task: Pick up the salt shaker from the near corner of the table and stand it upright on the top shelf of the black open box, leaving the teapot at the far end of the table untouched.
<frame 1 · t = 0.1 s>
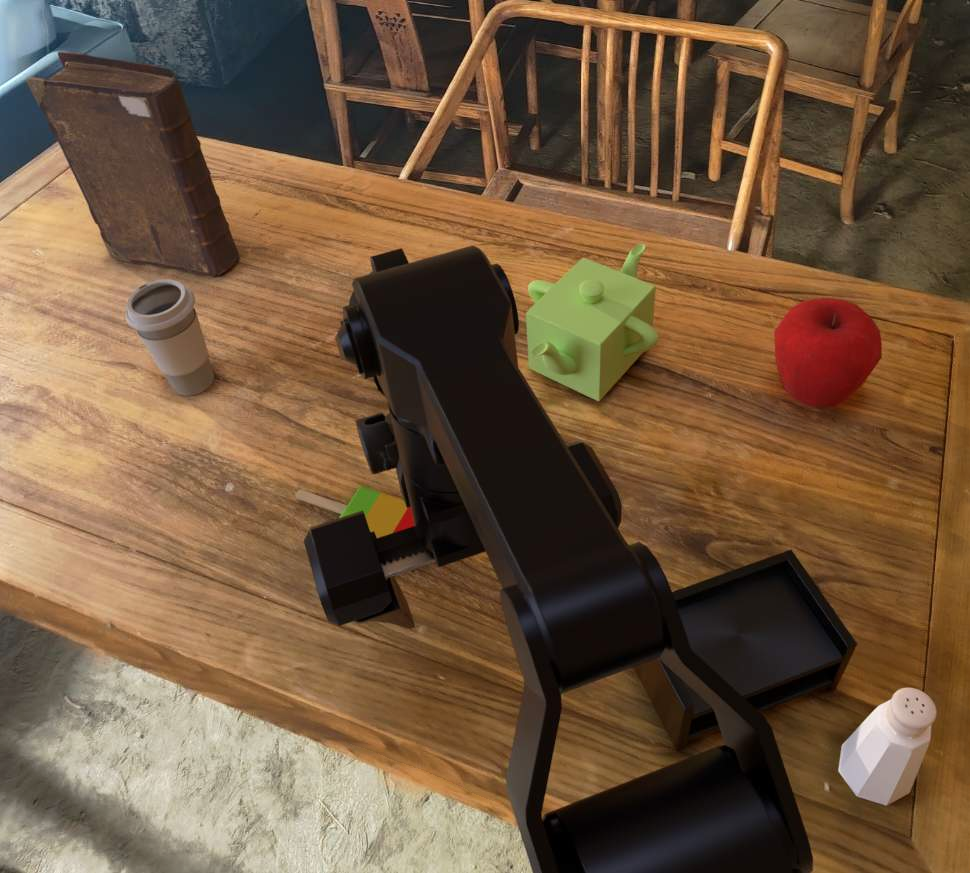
hand: (475, 599, 63), 16 cm above the table, tool pointing down, fingers open, 9 cm apart
salt shaker: (873, 770, 69), on the table
cup: (193, 382, 102), on the table
apple: (813, 393, 95), on the table
book: (177, 260, 117), on the table
popsicle: (365, 523, 88), on the table
black open box: (728, 670, 75), on the table
teapot: (590, 364, 100), on the table
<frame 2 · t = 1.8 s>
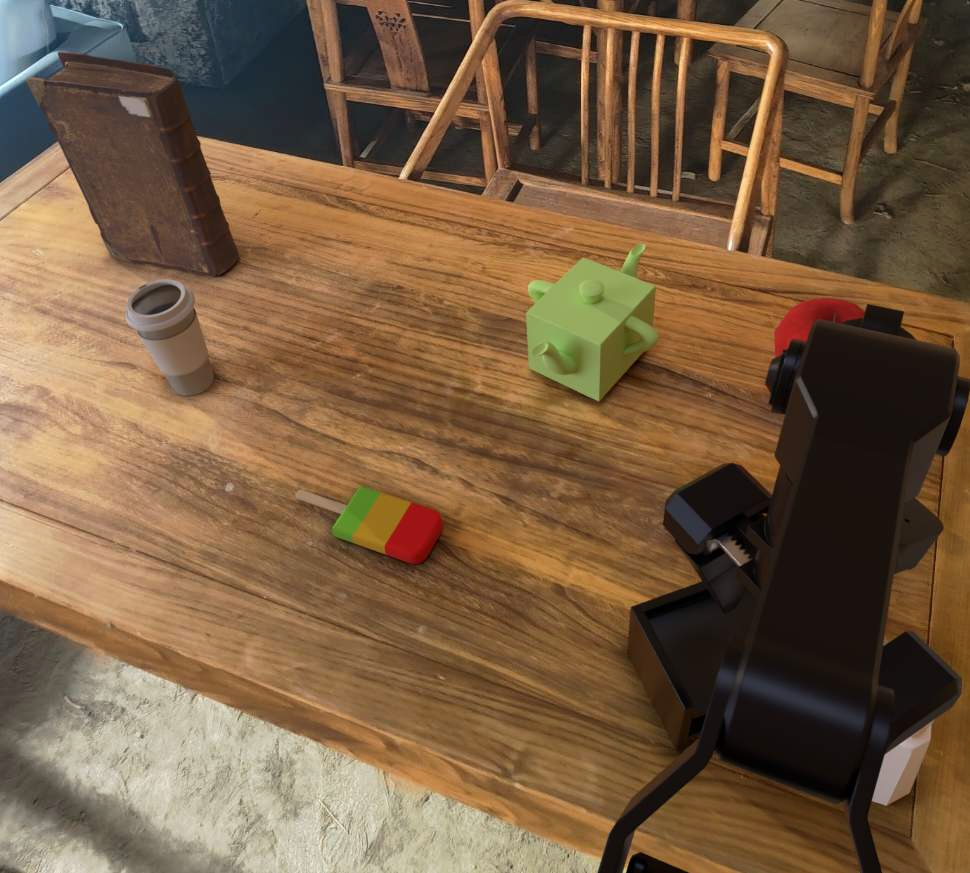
hand: (775, 660, 61), 14 cm above the table, tool pointing down, fingers open, 9 cm apart
nothing on the table moved.
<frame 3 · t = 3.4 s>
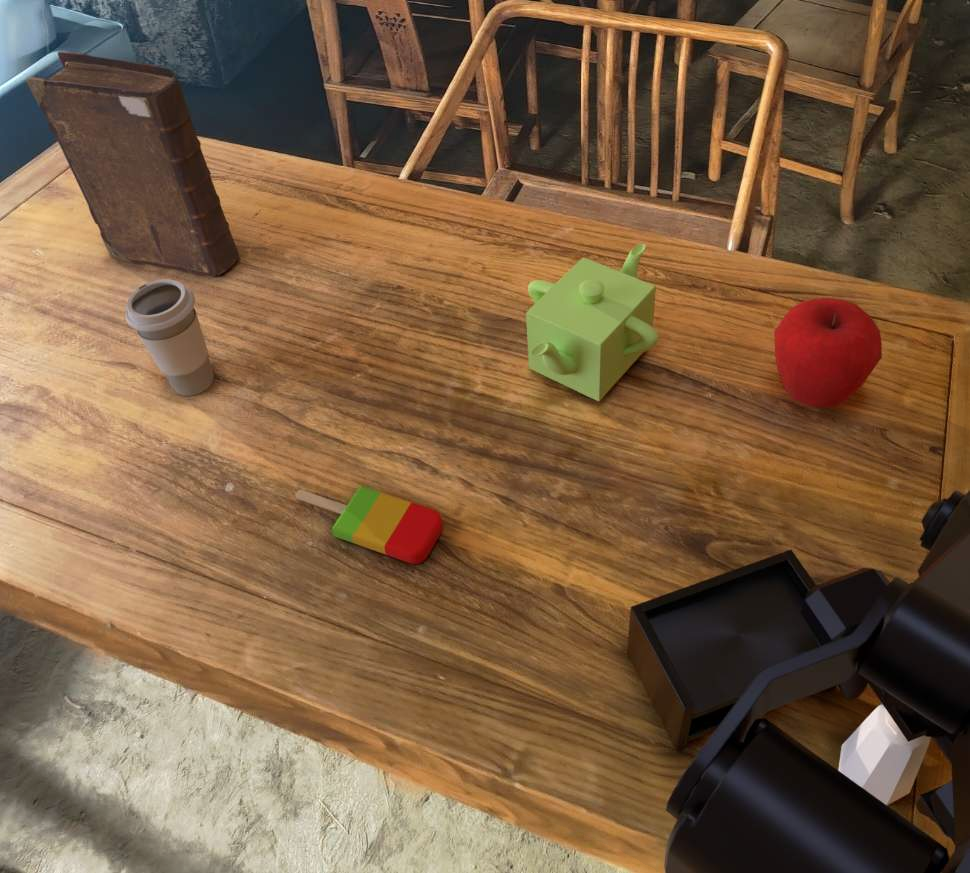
hand: (886, 750, 67), 4 cm above the table, tool pointing down, fingers open, 8 cm apart
nothing on the table moved.
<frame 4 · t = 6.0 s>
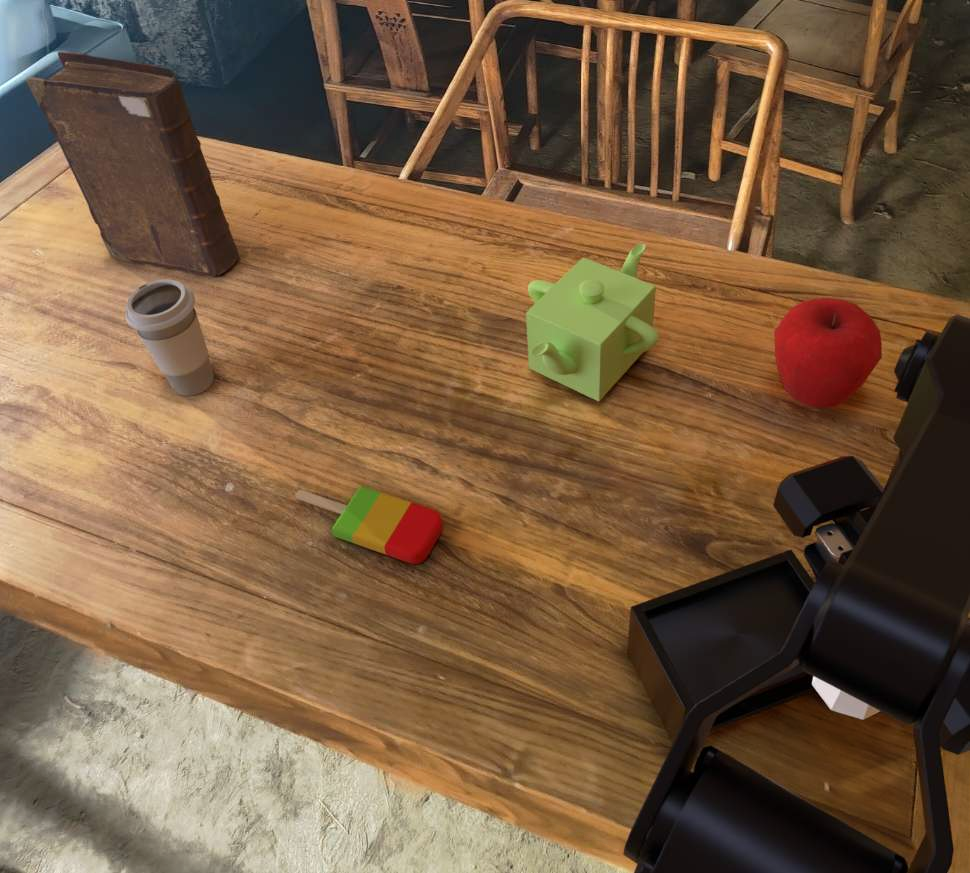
hand: (865, 656, 61), 13 cm above the table, tool pointing down, fingers closed on salt shaker, 4 cm apart
salt shaker: (850, 685, 64), point 9 cm above the table, touching gripper
everything else where it was.
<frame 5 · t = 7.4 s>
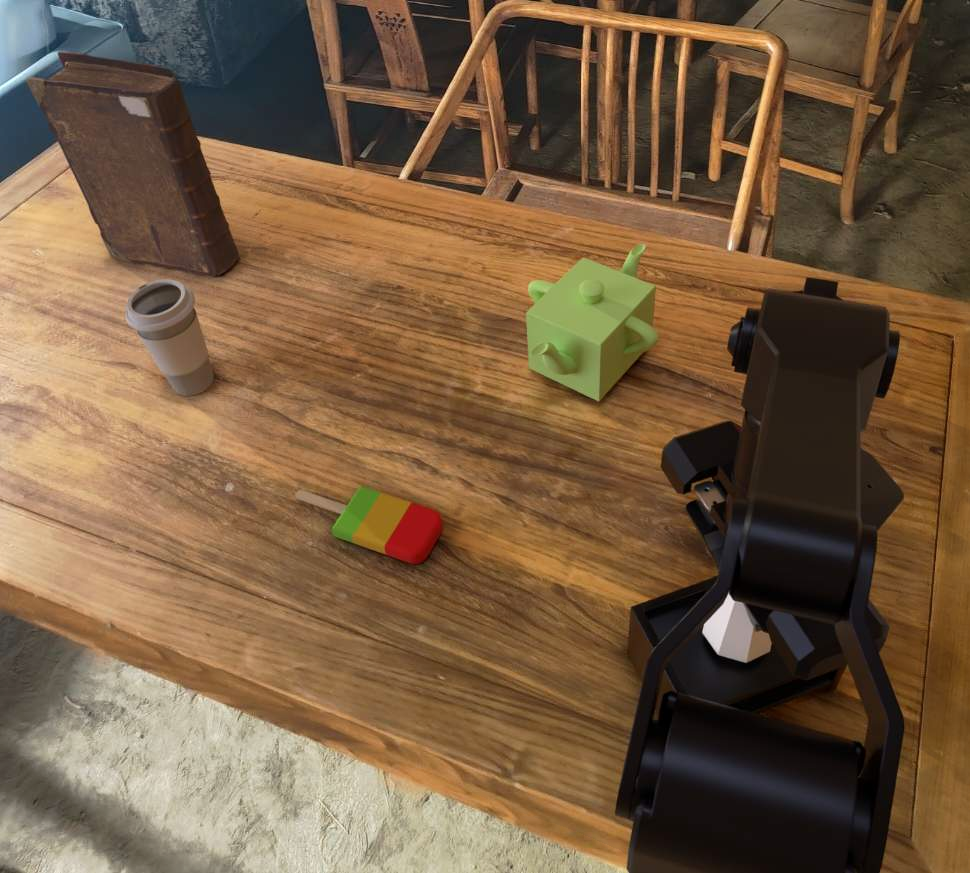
hand: (746, 604, 67), 11 cm above the table, tool pointing down, fingers closed on salt shaker, 4 cm apart
salt shaker: (737, 632, 70), point 7 cm above the table, touching gripper
everything else where it was.
when the fingers open (10 cm above the table, at t = 8.1 s): salt shaker stays where it is, resting on black open box.
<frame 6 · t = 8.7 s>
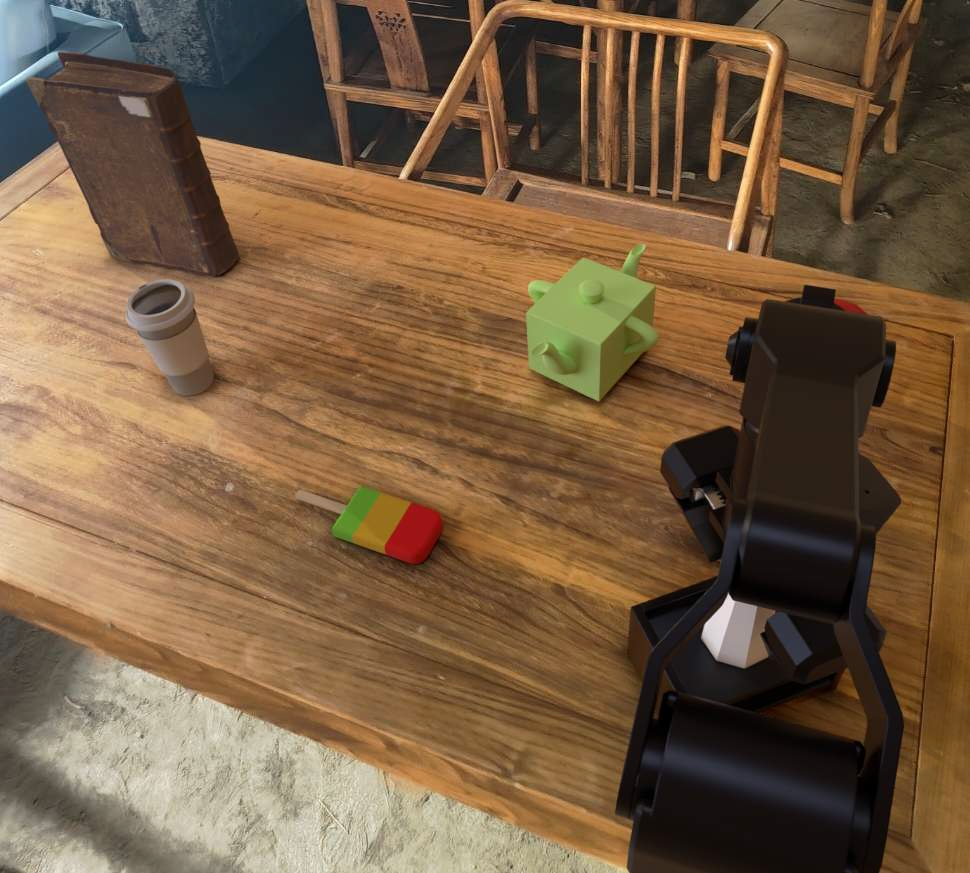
hand: (745, 607, 68), 10 cm above the table, tool pointing down, fingers open, 9 cm apart
salt shaker: (736, 638, 71), point 6 cm above the table, touching black open box
everything else where it was.
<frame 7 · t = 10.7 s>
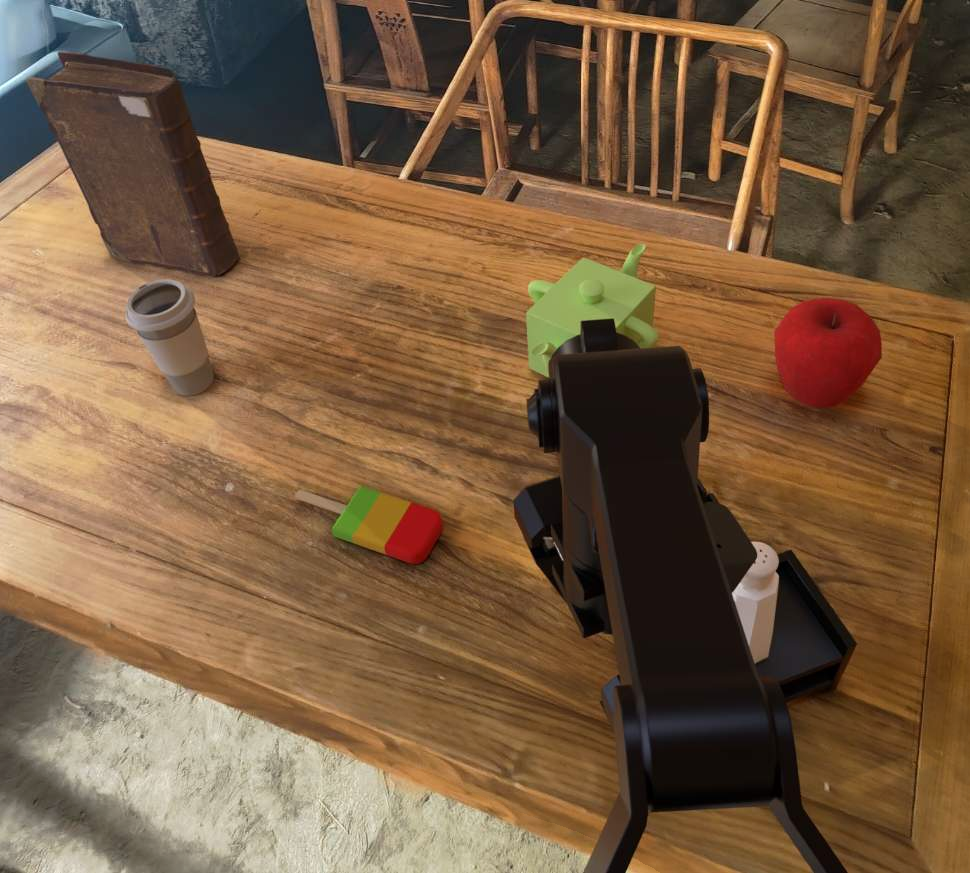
hand: (607, 664, 63), 13 cm above the table, tool pointing down, fingers open, 9 cm apart
nothing on the table moved.
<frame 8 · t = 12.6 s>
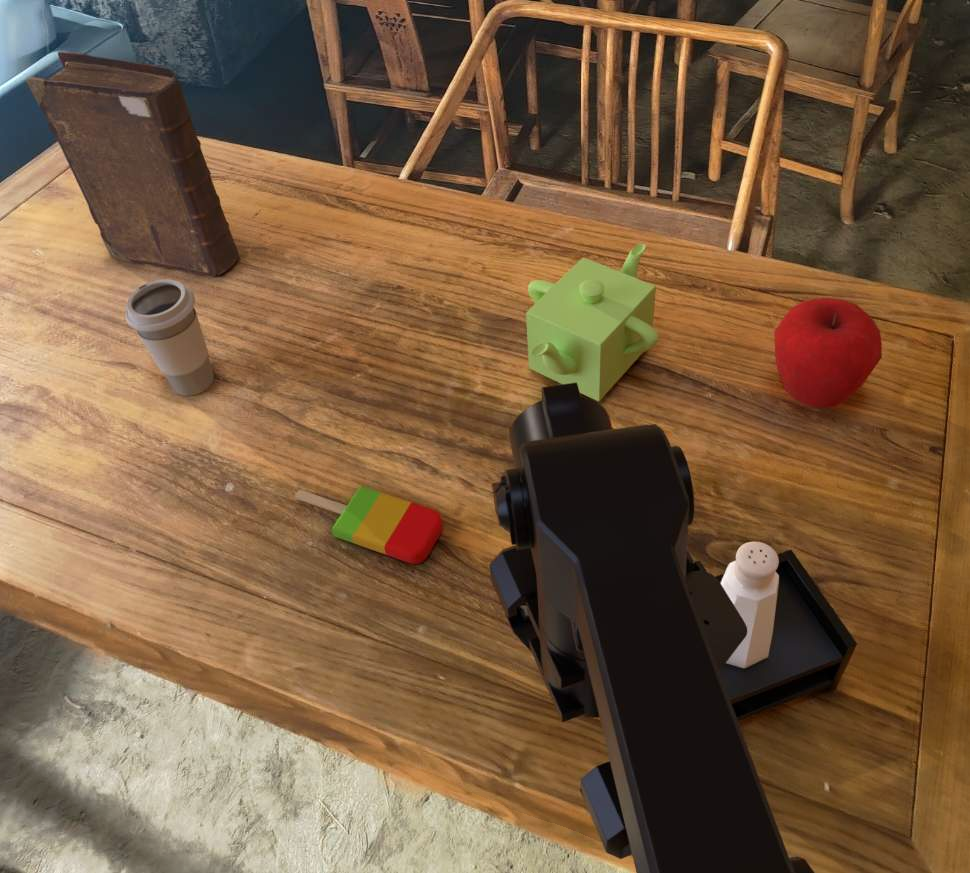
hand: (590, 736, 59), 13 cm above the table, tool pointing down, fingers open, 9 cm apart
nothing on the table moved.
at the end: salt shaker inside the target area on the black open box (0.3 cm from its centre), point 5.8 cm above the black open box's base; salt shaker tilted 0°; teapot moved 0.2 cm from its start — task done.
